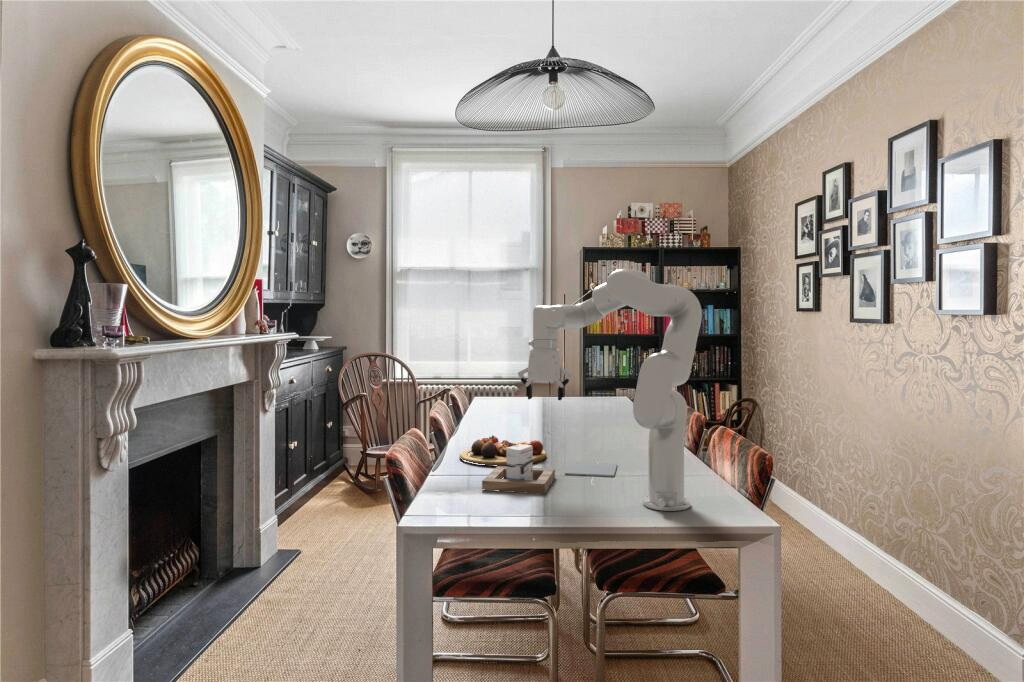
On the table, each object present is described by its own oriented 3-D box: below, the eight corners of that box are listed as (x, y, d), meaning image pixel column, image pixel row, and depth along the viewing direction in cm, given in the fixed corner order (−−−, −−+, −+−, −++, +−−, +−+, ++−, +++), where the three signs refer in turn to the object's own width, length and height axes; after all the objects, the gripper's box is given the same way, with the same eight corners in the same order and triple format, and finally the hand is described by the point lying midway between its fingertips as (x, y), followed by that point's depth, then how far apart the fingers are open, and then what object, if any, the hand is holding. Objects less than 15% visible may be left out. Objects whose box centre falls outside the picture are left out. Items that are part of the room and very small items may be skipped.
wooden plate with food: (562, 455, 240) (562, 433, 240) (514, 471, 214) (514, 447, 214) (493, 447, 258) (493, 427, 258) (442, 462, 232) (441, 439, 232)
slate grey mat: (613, 477, 206) (614, 475, 206) (564, 474, 209) (564, 473, 209) (617, 465, 221) (617, 463, 221) (571, 463, 225) (571, 462, 225)
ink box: (519, 488, 193) (519, 449, 193) (505, 486, 196) (505, 448, 195) (533, 482, 201) (533, 444, 200) (520, 480, 203) (519, 443, 203)
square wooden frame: (544, 494, 187) (544, 483, 187) (482, 490, 191) (482, 480, 191) (554, 477, 205) (554, 468, 205) (497, 475, 210) (497, 466, 209)
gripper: (515, 345, 199) (515, 400, 199) (570, 346, 194) (570, 402, 195) (521, 344, 206) (521, 396, 207) (574, 344, 202) (574, 398, 202)
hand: (544, 399), depth 201 cm, fingers open, 9 cm apart
